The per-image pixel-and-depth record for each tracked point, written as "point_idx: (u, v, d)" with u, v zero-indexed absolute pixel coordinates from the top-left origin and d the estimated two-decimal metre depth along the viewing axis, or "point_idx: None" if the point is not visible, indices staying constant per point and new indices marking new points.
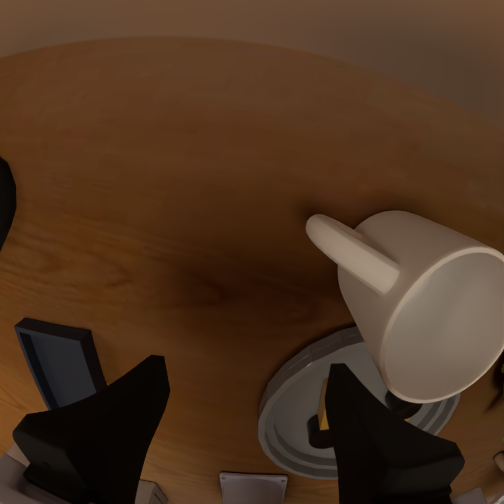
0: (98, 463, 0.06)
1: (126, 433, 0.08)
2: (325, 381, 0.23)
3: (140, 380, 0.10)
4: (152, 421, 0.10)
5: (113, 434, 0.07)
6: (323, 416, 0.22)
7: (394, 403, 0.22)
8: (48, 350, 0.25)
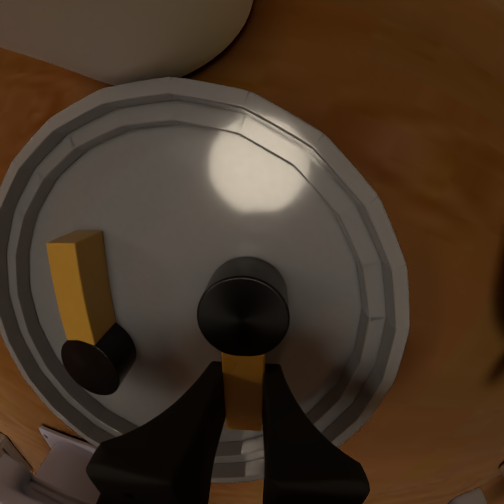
0: (190, 485, 0.06)
1: (204, 446, 0.08)
2: (71, 233, 0.12)
3: (213, 389, 0.10)
4: (218, 430, 0.10)
5: (198, 451, 0.07)
6: (58, 302, 0.11)
7: (201, 297, 0.10)
8: None
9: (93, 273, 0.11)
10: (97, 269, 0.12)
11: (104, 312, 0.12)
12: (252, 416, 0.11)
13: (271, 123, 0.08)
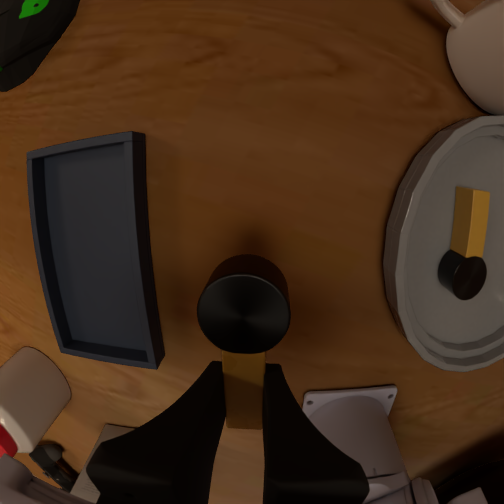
0: (190, 485, 0.06)
1: (204, 446, 0.08)
2: (459, 187, 0.16)
3: (213, 389, 0.10)
4: (218, 430, 0.10)
5: (198, 451, 0.07)
6: (469, 230, 0.15)
7: (201, 294, 0.10)
8: (67, 189, 0.18)
9: None
10: None
11: None
12: (252, 415, 0.11)
13: None
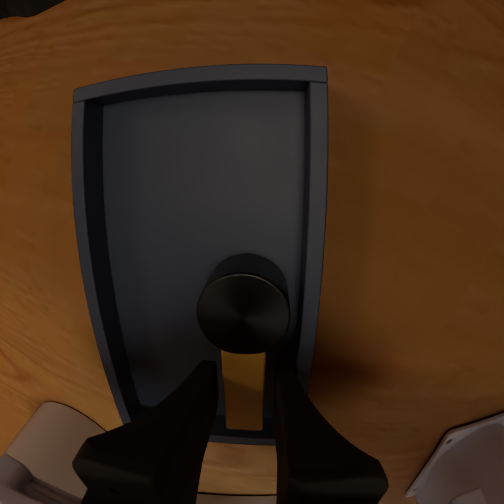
0: (174, 482, 0.06)
1: (191, 445, 0.08)
2: None
3: (201, 388, 0.10)
4: (207, 429, 0.10)
5: (183, 449, 0.07)
6: None
7: (200, 294, 0.10)
8: (152, 161, 0.11)
9: None
10: None
11: None
12: (252, 415, 0.11)
13: None
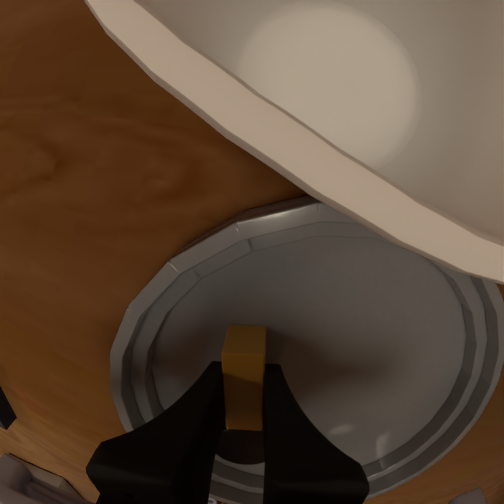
0: (190, 485, 0.06)
1: (204, 447, 0.08)
2: (228, 329, 0.12)
3: (213, 389, 0.10)
4: (218, 430, 0.10)
5: (198, 451, 0.07)
6: (225, 401, 0.11)
7: None
8: None
9: None
10: None
11: None
12: None
13: None
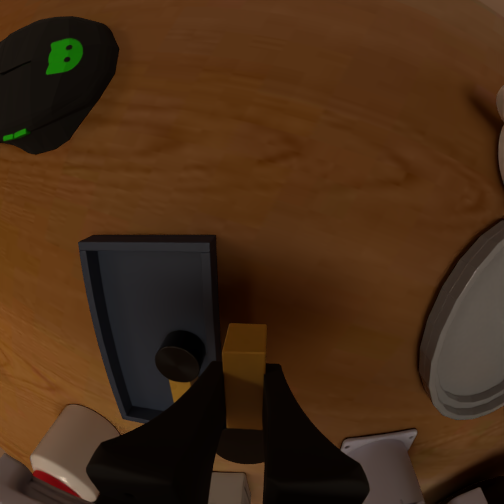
0: (190, 485, 0.06)
1: (204, 446, 0.08)
2: (229, 327, 0.12)
3: (213, 389, 0.10)
4: (218, 430, 0.10)
5: (198, 451, 0.07)
6: (225, 400, 0.11)
7: (156, 353, 0.19)
8: (128, 281, 0.20)
9: None
10: None
11: None
12: None
13: None
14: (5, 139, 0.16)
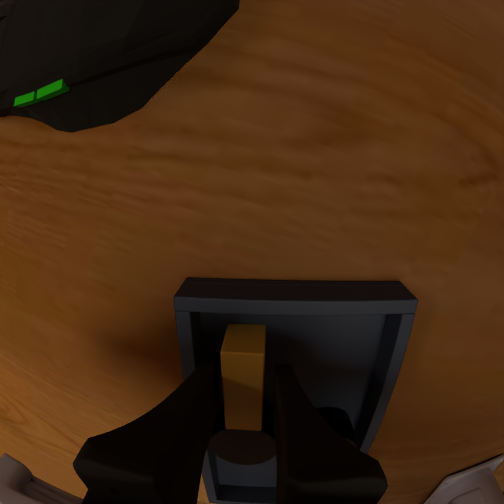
0: (175, 482, 0.06)
1: (192, 445, 0.08)
2: (228, 328, 0.12)
3: (202, 388, 0.10)
4: (208, 429, 0.10)
5: (184, 449, 0.07)
6: (224, 401, 0.11)
7: None
8: None
9: (264, 370, 0.12)
10: None
11: None
12: None
13: None
14: (18, 103, 0.09)
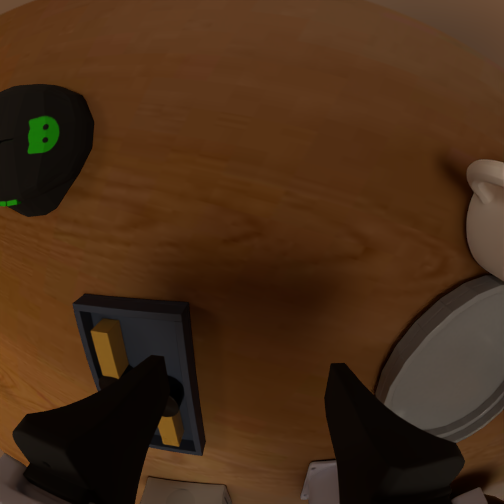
0: (98, 463, 0.06)
1: (126, 433, 0.08)
2: (101, 320, 0.22)
3: (140, 380, 0.10)
4: (152, 421, 0.10)
5: (113, 434, 0.07)
6: (98, 358, 0.21)
7: None
8: None
9: (117, 343, 0.21)
10: (118, 341, 0.22)
11: (123, 361, 0.22)
12: (173, 439, 0.23)
13: None
14: None
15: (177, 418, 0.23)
